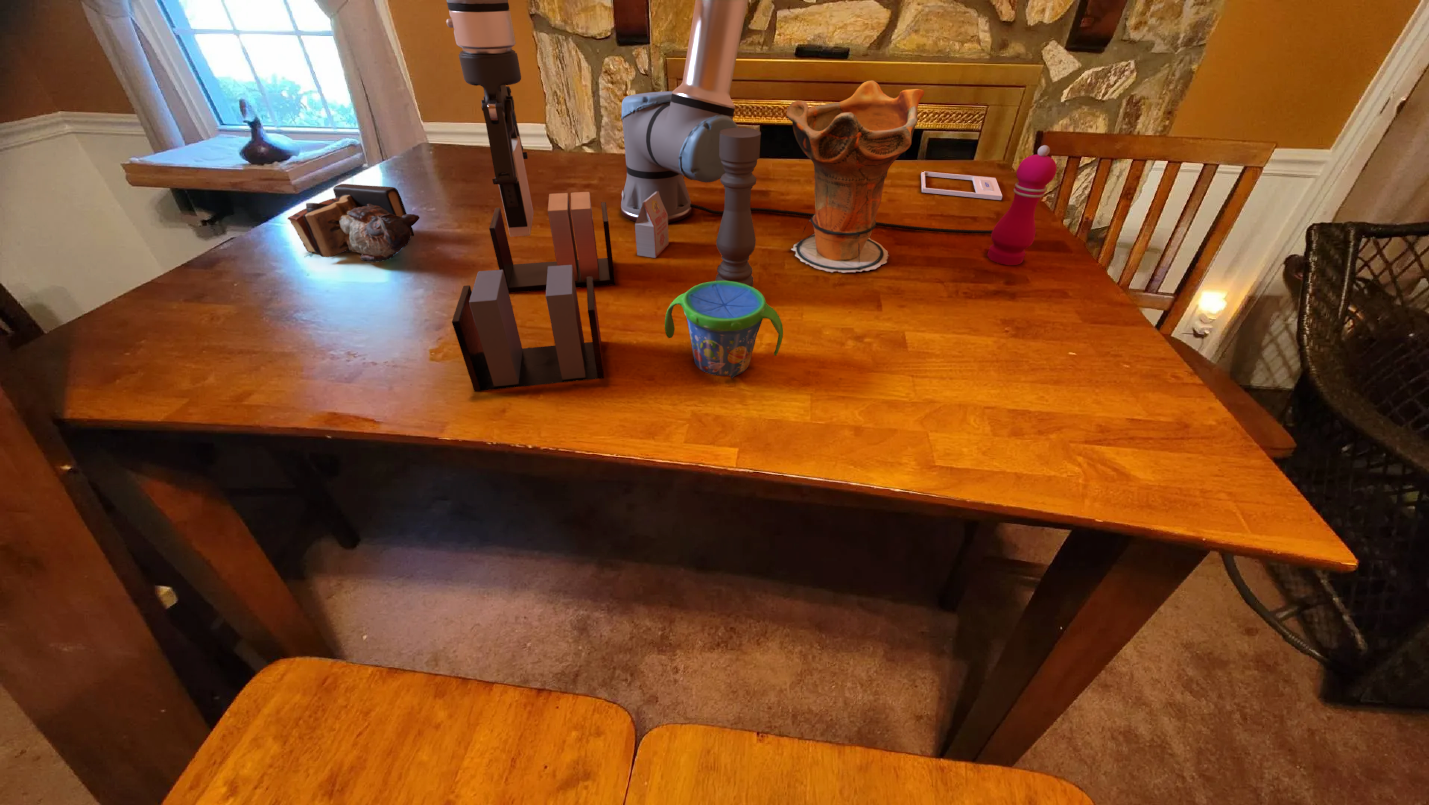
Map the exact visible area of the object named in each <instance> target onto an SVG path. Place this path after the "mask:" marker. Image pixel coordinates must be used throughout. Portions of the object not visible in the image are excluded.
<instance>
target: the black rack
mask: <svg viewBox="0 0 1429 805" xmlns="http://www.w3.org/2000/svg"><path fill="white" fill-rule="evenodd" d="M591 201H592V200H591V193H590V191H576V192H570V199H569V192H558V193H556V192H555V193H549V194H548V204H547V215H548V221H549V225H550V233H551V238H552V243H553V244H552V245H553V249H554V255H555V261H543V262H529V263H528V262H527V263H526V262H525V263H515V264H514V262H513V257H512V254H511V249H510V245H509V244H510V243H509V240H508V236H507V232H506V226H505V222H504V217H503V213H502V210H501V207H495V208H494V211H493V214H492V217H491V222H490V224H489V227H488V229H489V234H490V239H491V243H492V245H493V250H494V255H495V258H496V262H497V266H498V270H503V271H504V275H505V279H506V283H507V287H508V292H509V294H512V293H526V292H527V293H529V292H540V291H546V286H547V273H548V266H561V265H572V266H573V273H574V279H575V286H576V289H578V288H587V281H586V277H589V276H592V277H593V284H594V287H604V286H615V285H616V279H615V270H614V269H615V268H614V260H613V259H614V258H613V252H612V241H611V232H610V224H609V214H608V209H607V202H606V201H602V202H601V201H600V205H601V214H602V223H603V232H604V240H605V241H604V242H605V249H606V257H601V258H598V257H599V256H598V250H597V242H596V233H595V226H594V217H593V209H592V202H591Z"/></svg>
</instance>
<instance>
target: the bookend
mask: <svg viewBox="0 0 1429 805" xmlns="http://www.w3.org/2000/svg"><path fill="white" fill-rule="evenodd" d="M332 191H333V194H334V197H333V198H329V199H327V200H323V201H321V202H318V203H317V202H306V203H305V208H303V209H302V210H299V211H297V212H295V213H294V214H293V215H292V214H291V216H288V217H287V220H289V222H290V224H291V225H292V227H293V228H294V230H295V232H296V234H297V236H298V237H299V239H300V240H301V243H302V246H303V247H304V248H305V250H306V251H307V252H308V253H315V254H316V255H317V254H318V255H319V256H320V257H322V258H332V257H334V256H335V255H338V254H341V253H345V252H346V253H351V252H352V253H358V254H360V259H361V261H362V262H366V263H368V262H369V263H381V262H385V261H390V259H392V258H394V257H395V256H396V255H397V254H398V253H400V252H401V250H402V249H403V248H405V247H406V246H408V244H409V242H410V240H411V238H412V237H414V236H415V232H414V230H413V226H414V225H415V224H417V222H418V221H419V219H420V218H421V217H420V216H419V215H418V214H413V213H407V211H406V207H405V205H404V202H403V200H402V197H401V194H400V191H399V190H398V189H397V188H396V187H394V186H386V185H385V186H384V185H383V186H381V185H366V184H353V183H352V184H351V183H341V184H337V185H335V186H334V187H333V188H332Z"/></svg>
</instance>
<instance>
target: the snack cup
mask: <svg viewBox="0 0 1429 805" xmlns="http://www.w3.org/2000/svg"><path fill="white" fill-rule="evenodd" d="M677 305H679V306H681V308H682V310H683V313H684V316H685V317H686V322H687V327H688V335H689V340H690V345H691V350H692V351H691V352H692V357H693V359H694V360H693V361H694V364H695V366H696V367H697V368H698V369H699V370H700V371H702V372H703V373H706V374H709V375H712V376H723V377H726V376H727V377H728V376H730V379H731V380H732V379H733V378H735V377H736V376H739V375H741V374H743V373H744V372H745V371H746V370H748V368H749V366H750V364H751V360H752V355H753V352H754V348H755V345H756V339H757V337H758V333H759V331H760V328H761V325H762V323H763V320H764V319H767V320H769V321H770V322H771V324H772V326H773V327H774V330H775V331H776V333H777V335H778V336H777V342H776V345H775V350H774V352H773V355H774V356H775V357H777V355H778V353H779V351H780V348H781V345H782V341H783V337H784V327H783V322H782V319H781V317H780V315H779V314H778V312H777V311H776V310H775V309H774V307H772V306H771V305H769V304H768V303H767V301H766V298H765V296H764V294H763V293H762V292H761V291H759V290H758V289H756V288H755V287H754V286H753V287H751V286H749V285H746V284H743V283H738V282H732V281H716V280H712V281H707V282H702V283H699V284H696V285H694V286H693V287H691V288H690V289H688V290H687V291H686V292H684V293H680V295H677V297H675V298H674V299H673V300H672V302H671V303H670V304H669V306H668V307H667V309H666V313H665V316H664V317H665V318H664V330H665V331H664V332H665V335H666V337H667V338H668V339H671V338H673V336H674V334H675V329H676V328H675V327H676V326H675V322H674V318H673V314H672V313H673V311H674V308H675V307H676V306H677Z"/></svg>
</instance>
